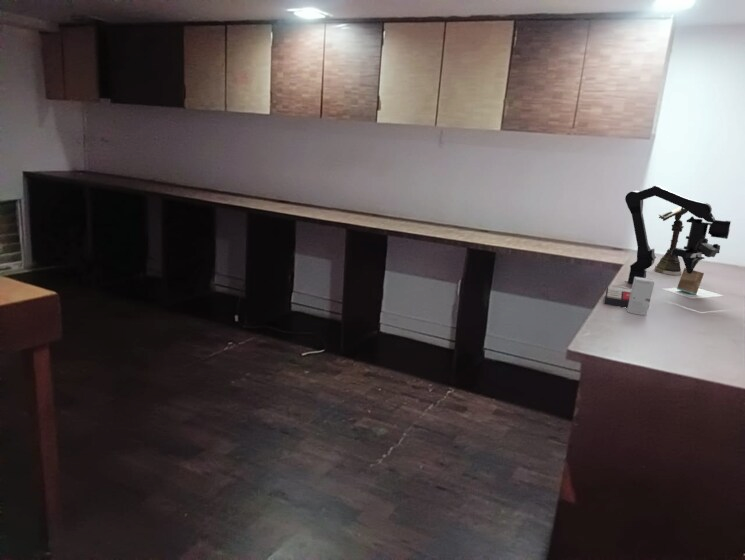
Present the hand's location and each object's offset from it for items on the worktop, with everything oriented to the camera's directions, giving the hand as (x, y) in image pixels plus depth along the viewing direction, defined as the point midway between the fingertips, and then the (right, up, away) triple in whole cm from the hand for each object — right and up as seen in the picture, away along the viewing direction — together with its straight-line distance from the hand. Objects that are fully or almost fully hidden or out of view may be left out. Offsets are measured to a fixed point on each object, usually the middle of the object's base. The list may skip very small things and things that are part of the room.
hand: (689, 273), depth 227 cm
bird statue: (+11, +1, +43) cm, 44 cm away
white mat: (+4, -8, +5) cm, 10 cm away
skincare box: (-35, -14, -30) cm, 48 cm away
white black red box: (-35, -11, -17) cm, 41 cm away
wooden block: (0, -7, +3) cm, 8 cm away
